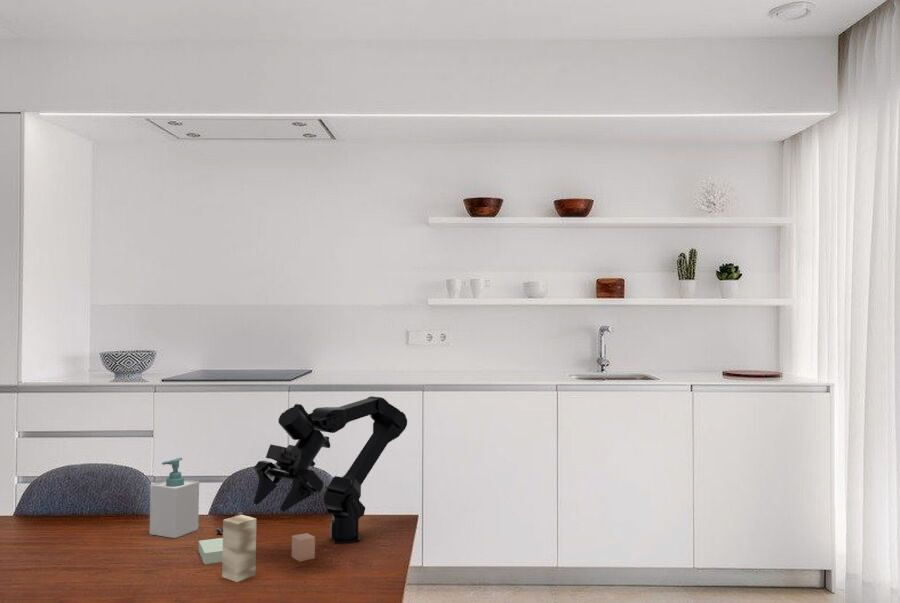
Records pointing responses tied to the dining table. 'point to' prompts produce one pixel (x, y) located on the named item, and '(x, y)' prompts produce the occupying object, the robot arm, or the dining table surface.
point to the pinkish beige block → (303, 547)
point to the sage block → (211, 550)
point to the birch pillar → (239, 548)
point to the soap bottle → (174, 504)
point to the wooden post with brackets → (220, 530)
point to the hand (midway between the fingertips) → (268, 507)
